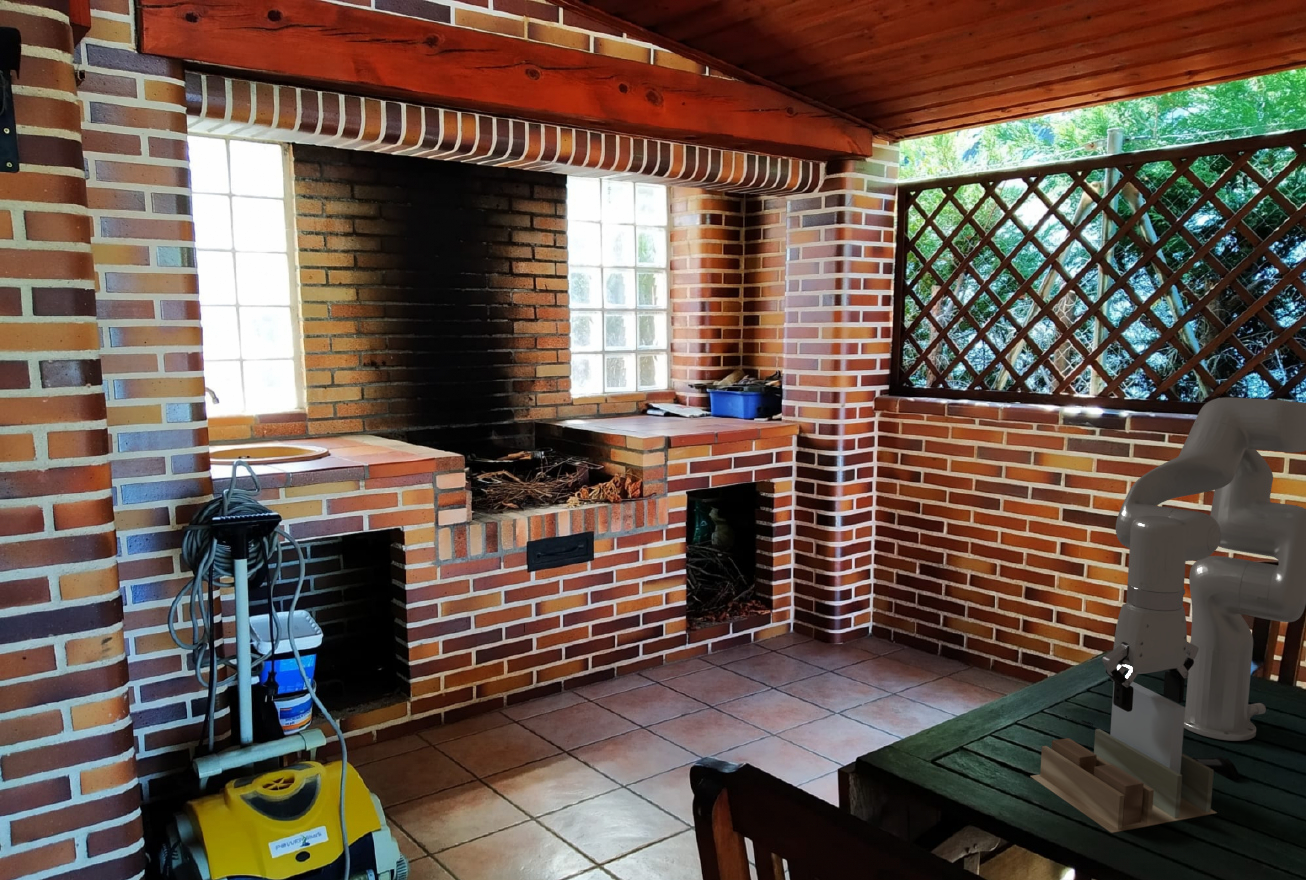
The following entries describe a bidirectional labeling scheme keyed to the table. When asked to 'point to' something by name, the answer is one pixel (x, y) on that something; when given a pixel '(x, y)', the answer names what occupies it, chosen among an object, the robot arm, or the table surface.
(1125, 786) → the offcut
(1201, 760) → the electric trimmer
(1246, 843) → the table surface
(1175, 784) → the rack
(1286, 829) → the table surface
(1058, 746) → the offcut
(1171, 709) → the sheet
